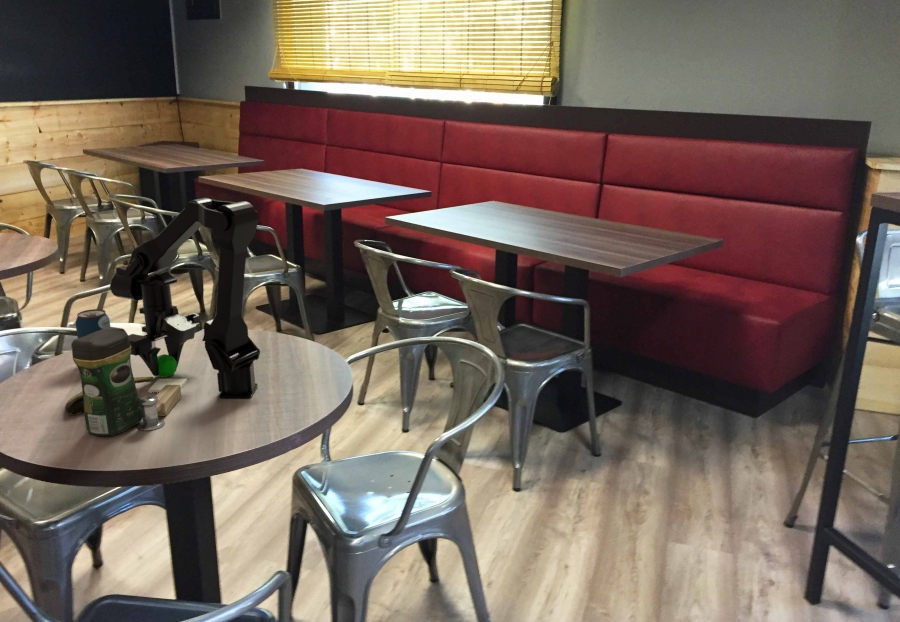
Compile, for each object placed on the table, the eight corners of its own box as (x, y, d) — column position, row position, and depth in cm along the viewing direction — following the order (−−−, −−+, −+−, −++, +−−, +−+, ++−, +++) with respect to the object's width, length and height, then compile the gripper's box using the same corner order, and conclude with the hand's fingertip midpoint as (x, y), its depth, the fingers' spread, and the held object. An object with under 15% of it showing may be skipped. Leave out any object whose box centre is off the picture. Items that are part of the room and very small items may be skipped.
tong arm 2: (181, 396, 150) (180, 384, 150) (162, 420, 140) (160, 407, 139) (174, 396, 150) (172, 384, 150) (154, 420, 140) (152, 407, 139)
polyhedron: (162, 371, 164) (160, 350, 163) (182, 372, 163) (180, 352, 162) (149, 379, 159) (146, 358, 158) (169, 381, 158) (167, 360, 157)
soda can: (121, 361, 169) (114, 311, 166) (93, 371, 164) (85, 319, 160) (103, 355, 173) (96, 306, 170) (75, 364, 168) (67, 314, 164)
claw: (99, 420, 141) (96, 403, 140) (50, 417, 143) (47, 400, 142) (153, 382, 160) (151, 367, 159) (109, 380, 161) (107, 365, 160)
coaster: (187, 381, 158) (186, 378, 158) (177, 392, 153) (177, 389, 153) (159, 381, 158) (158, 378, 158) (148, 392, 153) (148, 390, 152)
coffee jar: (119, 412, 143) (103, 321, 138) (151, 418, 140) (136, 325, 135) (78, 434, 135) (59, 337, 129) (110, 441, 132) (93, 342, 126)
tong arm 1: (174, 396, 150) (173, 384, 150) (153, 420, 140) (152, 407, 139) (167, 396, 150) (166, 384, 150) (146, 420, 140) (144, 407, 139)
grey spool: (168, 419, 141) (165, 394, 139) (159, 430, 136) (156, 404, 135) (143, 419, 141) (139, 394, 139) (133, 430, 136) (129, 404, 135)
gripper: (151, 320, 145) (160, 393, 150) (217, 296, 161) (224, 363, 166) (110, 312, 149) (120, 384, 154) (179, 290, 166) (186, 355, 170)
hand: (165, 371), depth 161 cm, fingers closed on polyhedron, 5 cm apart
